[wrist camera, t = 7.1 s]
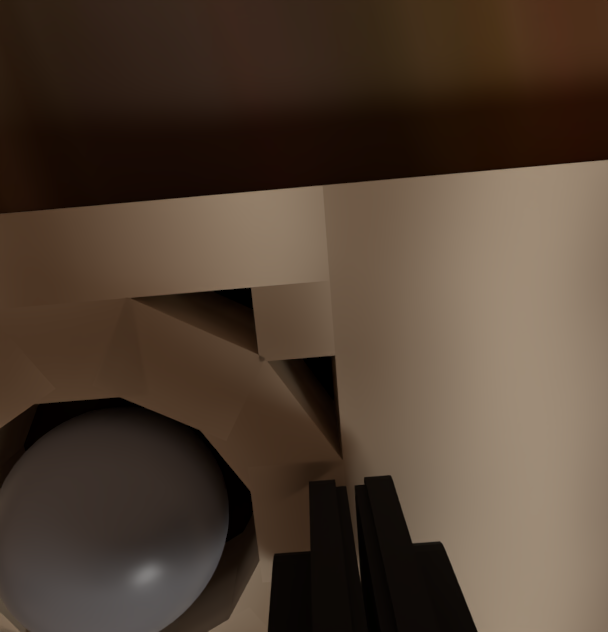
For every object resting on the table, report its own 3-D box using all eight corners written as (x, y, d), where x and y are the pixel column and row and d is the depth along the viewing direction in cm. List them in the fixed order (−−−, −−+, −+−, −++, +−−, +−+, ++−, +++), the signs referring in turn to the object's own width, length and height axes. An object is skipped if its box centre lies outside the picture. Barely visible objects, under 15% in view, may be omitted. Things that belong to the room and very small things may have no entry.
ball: (-49, 614, 7) (-87, 479, 11) (122, 760, 9) (43, 609, 13) (217, 395, 10) (114, 346, 13) (300, 552, 12) (193, 474, 16)
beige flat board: (947, 129, 12) (1158, 111, 9) (838, 617, 15) (965, 719, 12) (-227, 234, 12) (-391, 249, 9) (-70, 683, 16) (-153, 796, 13)
